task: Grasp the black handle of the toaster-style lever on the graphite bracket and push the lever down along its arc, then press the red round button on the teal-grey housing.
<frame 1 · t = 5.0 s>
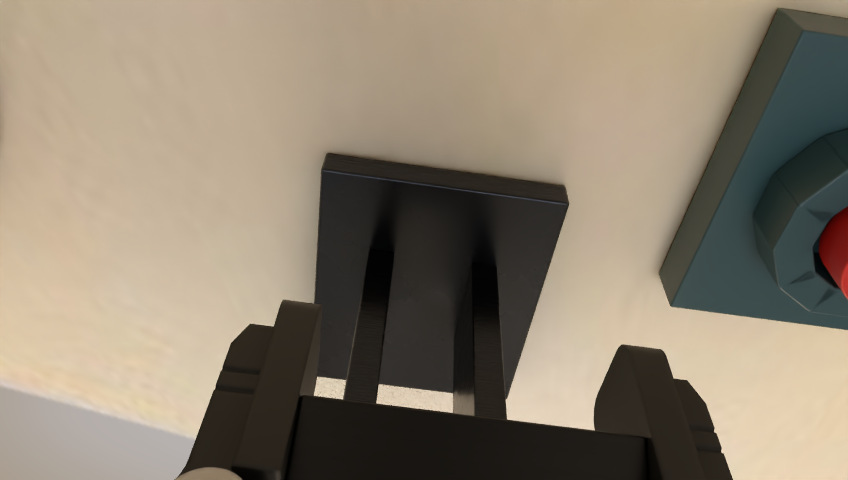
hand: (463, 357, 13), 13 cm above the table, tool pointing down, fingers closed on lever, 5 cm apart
bracket: (426, 280, 29), on the table
button box: (830, 175, 25), on the table
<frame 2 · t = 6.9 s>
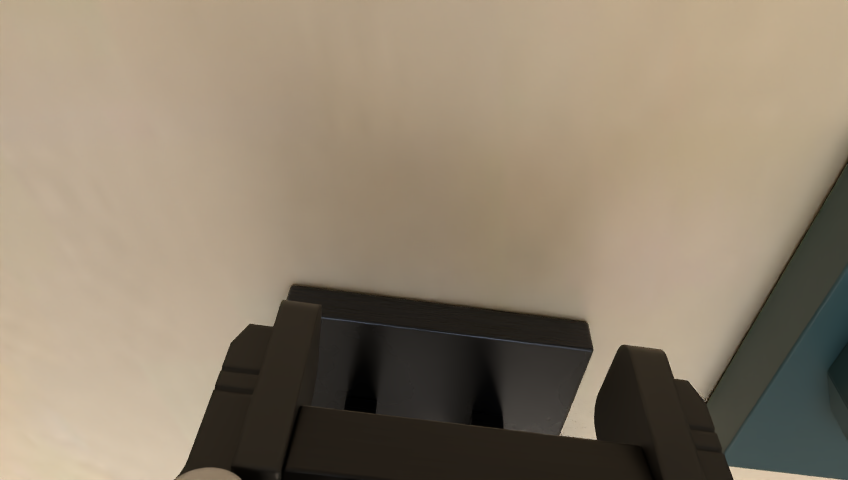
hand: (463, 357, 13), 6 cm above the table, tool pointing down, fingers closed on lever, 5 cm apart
bracket: (418, 418, 24), on the table
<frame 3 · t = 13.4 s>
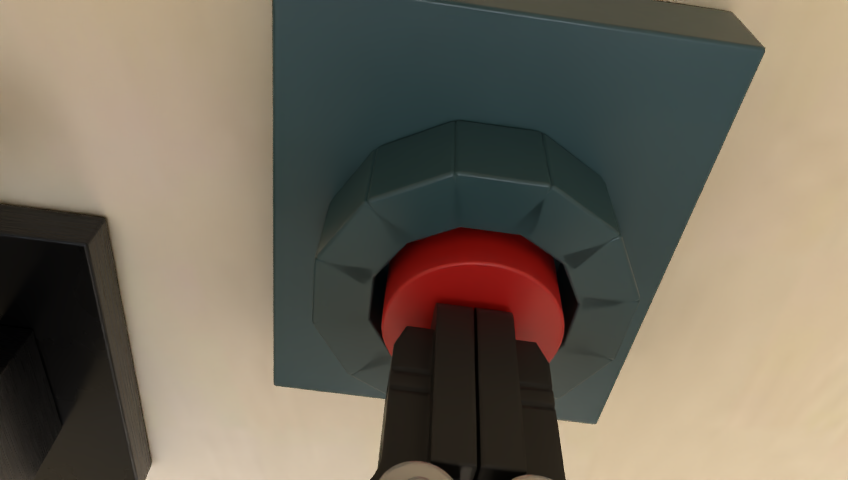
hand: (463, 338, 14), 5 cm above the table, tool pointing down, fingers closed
button: (471, 303, 14), point 4 cm above the table, slide at -0.7 cm, touching gripper
button box: (470, 202, 17), on the table
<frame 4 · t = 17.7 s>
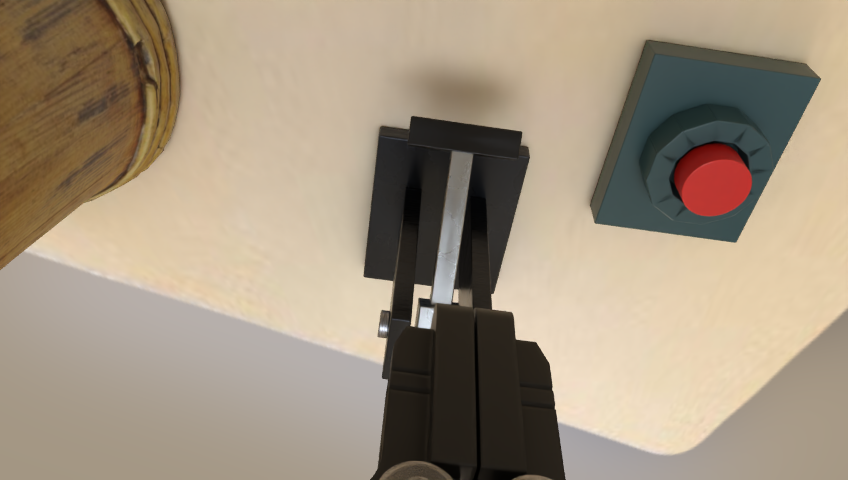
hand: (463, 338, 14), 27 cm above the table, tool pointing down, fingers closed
button: (711, 180, 37), point 4 cm above the table, slide at 0.1 cm
lever: (449, 242, 35), point 9 cm above the table, hinge at -32.1°
bracket: (441, 210, 45), on the table
button box: (689, 139, 41), on the table
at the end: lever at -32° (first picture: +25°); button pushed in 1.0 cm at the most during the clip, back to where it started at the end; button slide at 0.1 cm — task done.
